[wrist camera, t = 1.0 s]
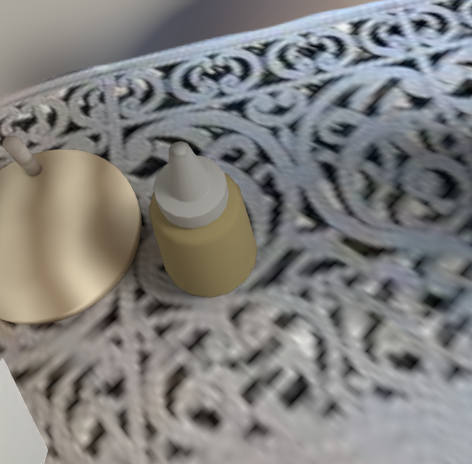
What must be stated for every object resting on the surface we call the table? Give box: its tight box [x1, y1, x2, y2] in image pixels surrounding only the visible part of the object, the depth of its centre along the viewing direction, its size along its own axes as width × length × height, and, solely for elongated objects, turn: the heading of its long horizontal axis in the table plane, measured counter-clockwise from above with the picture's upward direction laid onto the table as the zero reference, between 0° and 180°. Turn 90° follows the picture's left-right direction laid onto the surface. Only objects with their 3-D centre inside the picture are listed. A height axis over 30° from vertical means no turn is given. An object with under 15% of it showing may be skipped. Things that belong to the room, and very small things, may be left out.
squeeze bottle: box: [149, 141, 257, 297], centre depth 32 cm, size 8×8×18 cm
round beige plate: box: [0, 136, 142, 325], centre depth 40 cm, size 18×18×6 cm
